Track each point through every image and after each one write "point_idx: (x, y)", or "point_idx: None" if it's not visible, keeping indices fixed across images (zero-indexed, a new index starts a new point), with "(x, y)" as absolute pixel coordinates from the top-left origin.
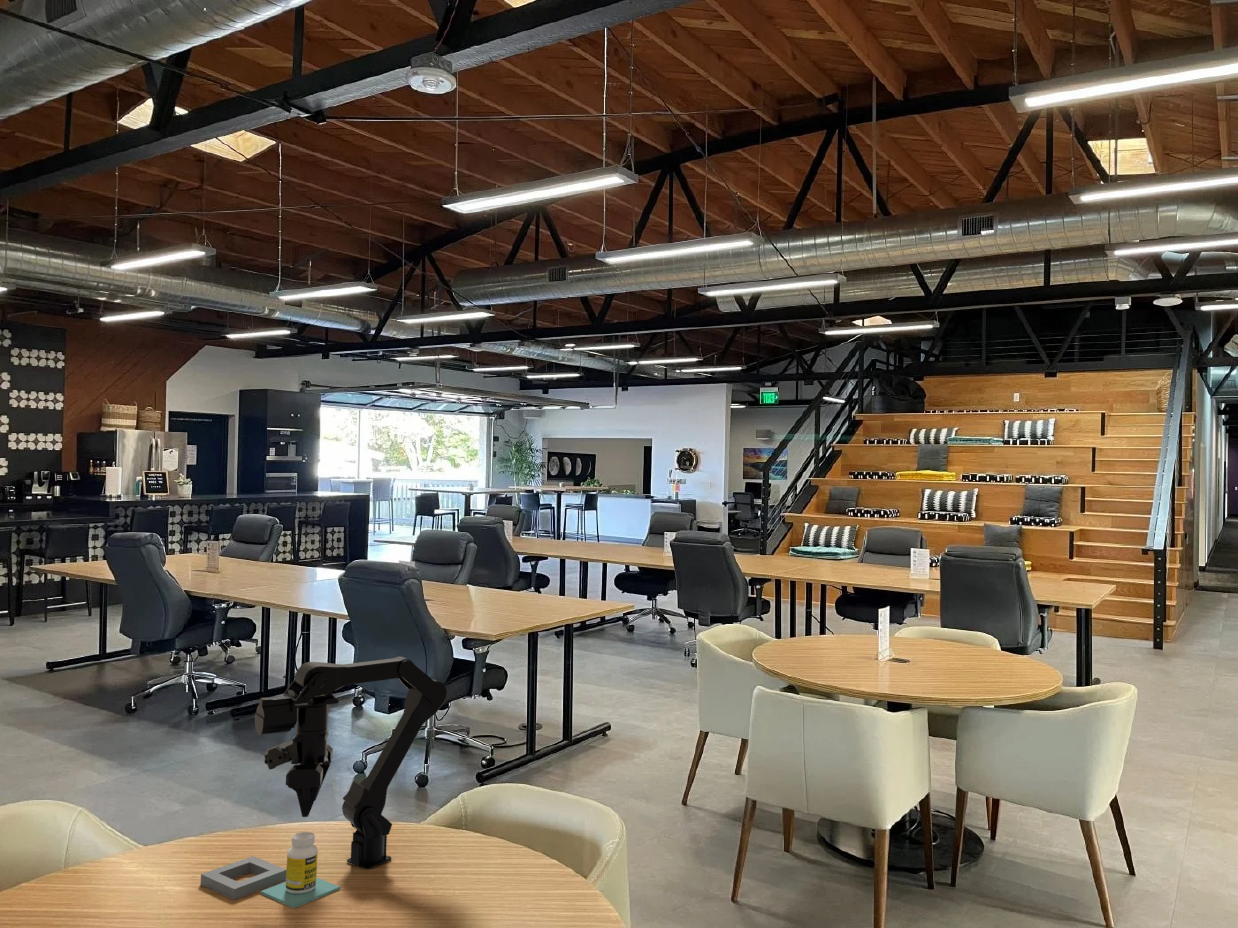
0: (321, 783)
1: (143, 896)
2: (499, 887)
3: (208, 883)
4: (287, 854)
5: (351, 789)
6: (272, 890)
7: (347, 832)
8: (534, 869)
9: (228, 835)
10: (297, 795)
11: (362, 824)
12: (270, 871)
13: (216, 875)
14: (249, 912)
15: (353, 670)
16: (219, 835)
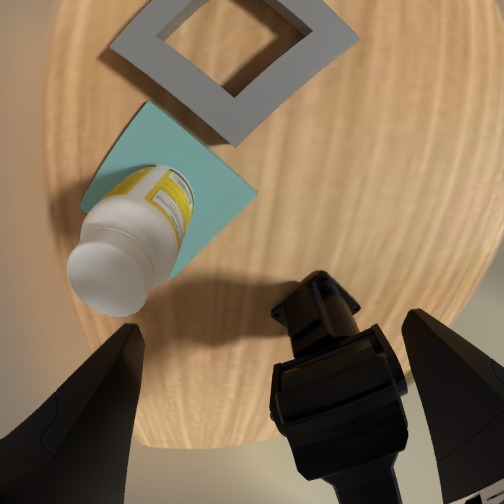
0: (428, 416)
1: None
2: (192, 421)
3: None
4: (102, 200)
5: (389, 427)
6: (150, 129)
7: (467, 247)
8: (240, 436)
9: (498, 28)
10: (22, 423)
11: (271, 391)
12: (225, 101)
13: None
14: (61, 116)
15: None
16: (497, 15)
